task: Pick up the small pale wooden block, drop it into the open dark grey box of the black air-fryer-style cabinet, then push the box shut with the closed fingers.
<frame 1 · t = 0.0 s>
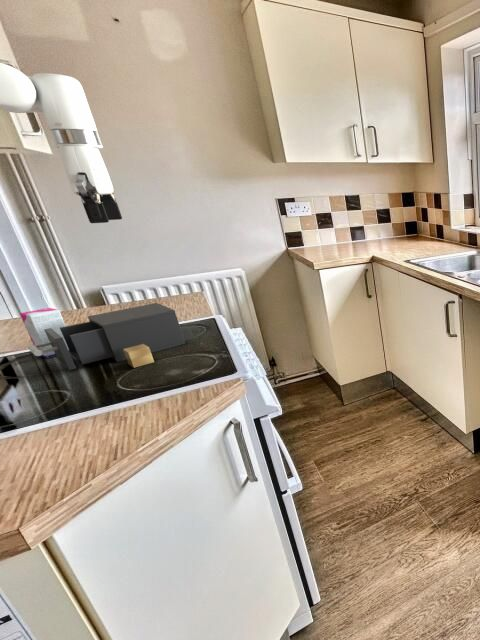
hand: (107, 221, 98), 33 cm above the worktop, tool pointing down, fingers open, 9 cm apart
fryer: (144, 347, 113), on the worktop
block: (141, 363, 103), on the worktop
dark grey box: (83, 343, 103), point 5 cm above the worktop, slide at 7.0 cm
supplement box: (57, 353, 111), on the worktop
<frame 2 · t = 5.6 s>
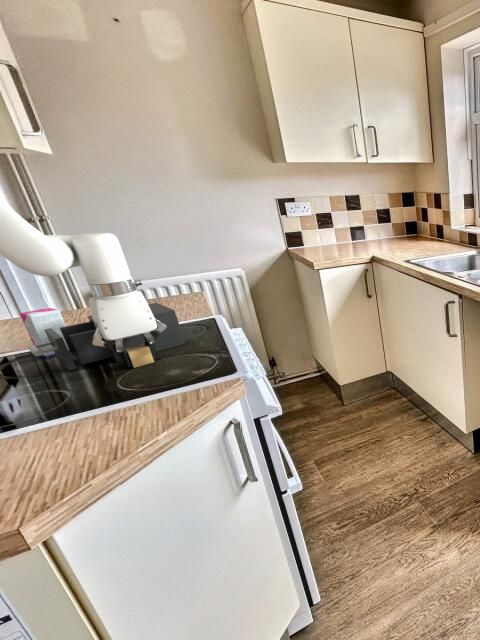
hand: (140, 361, 103), 1 cm above the worktop, tool pointing down, fingers closed on block, 4 cm apart
block: (141, 363, 103), on the worktop, touching gripper
everything else where it was.
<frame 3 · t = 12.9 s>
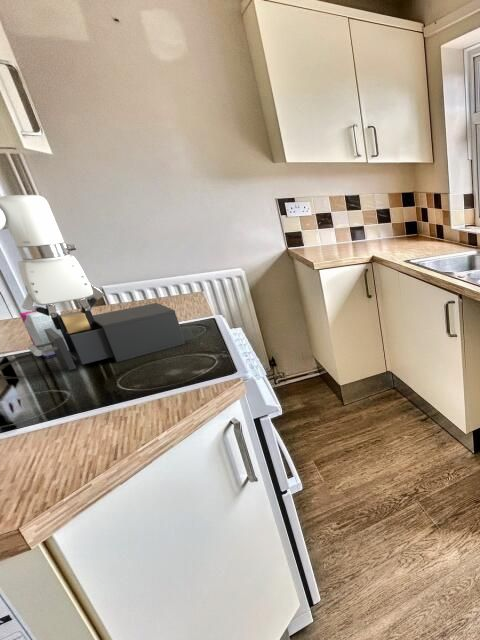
hand: (77, 328, 102), 9 cm above the worktop, tool pointing down, fingers closed on block, 4 cm apart
block: (78, 329, 102), point 8 cm above the worktop, touching gripper
everything else where it was.
when the fingers open (12 cm above the worktop, at t = 20.9 s): block drops 9 cm, resting on dark grey box.
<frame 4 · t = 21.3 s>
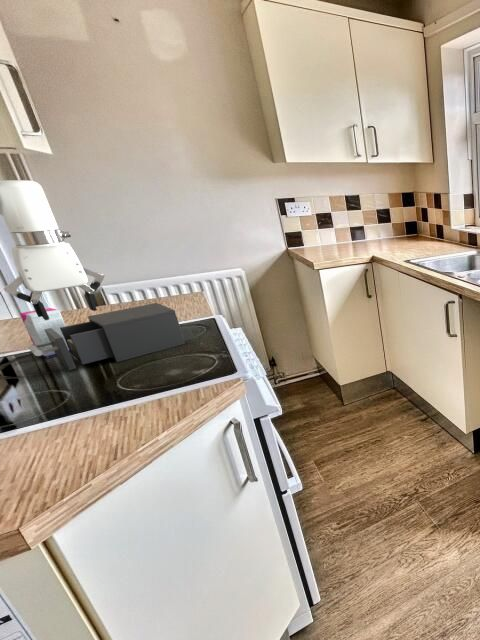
hand: (70, 313, 100), 12 cm above the worktop, tool pointing down, fingers open, 7 cm apart
block: (86, 354, 104), point 2 cm above the worktop, touching dark grey box
dark grey box: (83, 343, 103), point 5 cm above the worktop, slide at 7.0 cm, touching block
everything else where it was.
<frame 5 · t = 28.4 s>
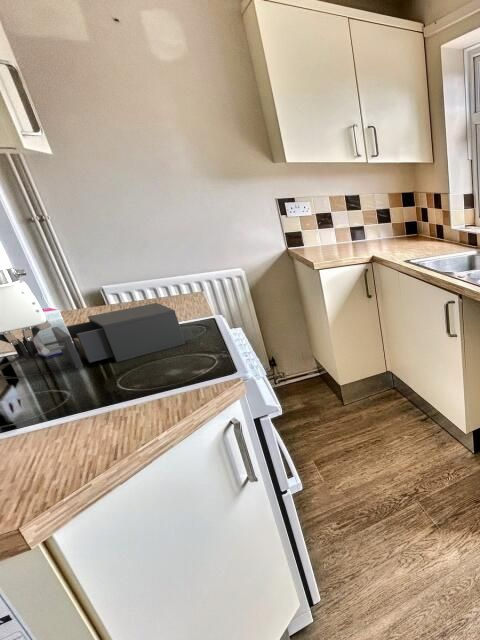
hand: (30, 357, 96), 4 cm above the worktop, tool pointing down, fingers closed
block: (93, 352, 105), point 2 cm above the worktop, touching dark grey box
dark grey box: (90, 341, 104), point 5 cm above the worktop, slide at 5.8 cm, touching block, gripper
everything else where it was.
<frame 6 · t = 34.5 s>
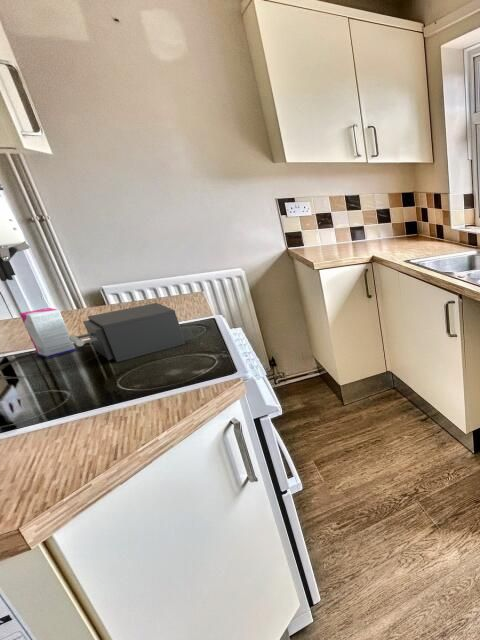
hand: (6, 279, 91), 22 cm above the worktop, tool pointing down, fingers closed
block: (122, 345, 109), point 2 cm above the worktop, touching dark grey box
dark grey box: (120, 334, 108), point 5 cm above the worktop, slide at 0.0 cm, touching block, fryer
everything else where it was.
at the end: block inside the target area in the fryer (2.9 cm from its centre), point 2.0 cm above the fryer's base; dark grey box slide at 0.0 cm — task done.
